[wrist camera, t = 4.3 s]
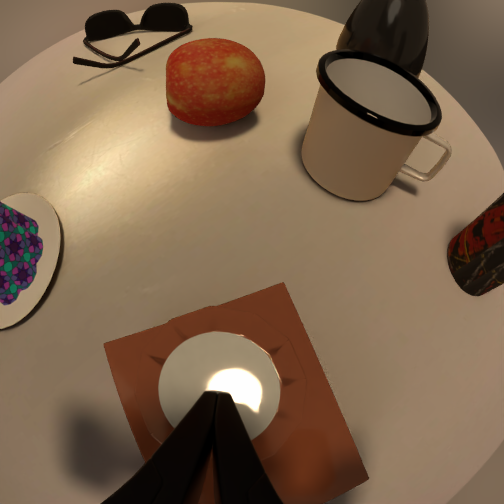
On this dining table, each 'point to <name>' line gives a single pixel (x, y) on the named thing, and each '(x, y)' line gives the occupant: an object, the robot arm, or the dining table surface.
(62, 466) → the dining table surface
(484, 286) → the deodorant
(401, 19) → the pump dispenser
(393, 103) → the mug
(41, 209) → the pudding
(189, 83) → the apple
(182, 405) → the white cylinder
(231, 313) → the button housing
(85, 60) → the sunglasses
